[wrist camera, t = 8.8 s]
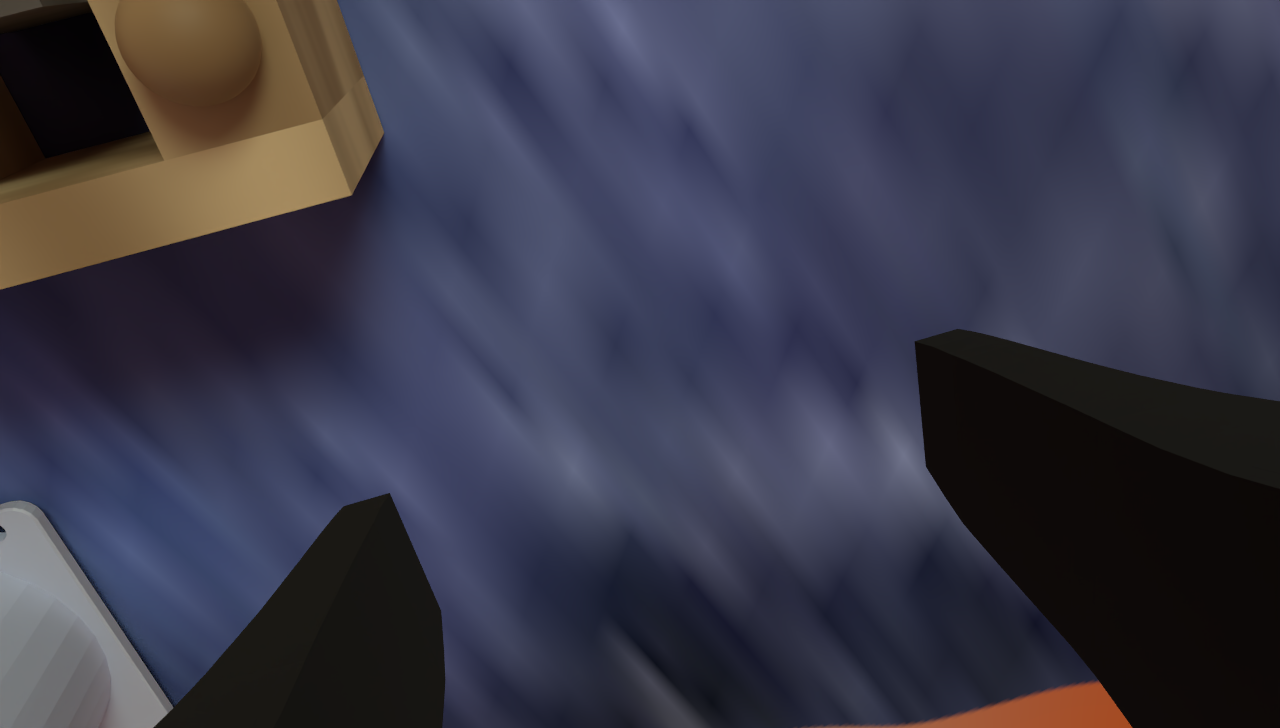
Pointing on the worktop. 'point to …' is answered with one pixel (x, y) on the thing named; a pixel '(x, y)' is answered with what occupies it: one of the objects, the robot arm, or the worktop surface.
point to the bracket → (193, 134)
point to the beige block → (38, 12)
